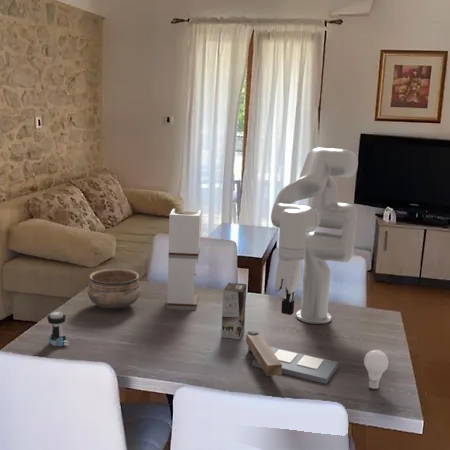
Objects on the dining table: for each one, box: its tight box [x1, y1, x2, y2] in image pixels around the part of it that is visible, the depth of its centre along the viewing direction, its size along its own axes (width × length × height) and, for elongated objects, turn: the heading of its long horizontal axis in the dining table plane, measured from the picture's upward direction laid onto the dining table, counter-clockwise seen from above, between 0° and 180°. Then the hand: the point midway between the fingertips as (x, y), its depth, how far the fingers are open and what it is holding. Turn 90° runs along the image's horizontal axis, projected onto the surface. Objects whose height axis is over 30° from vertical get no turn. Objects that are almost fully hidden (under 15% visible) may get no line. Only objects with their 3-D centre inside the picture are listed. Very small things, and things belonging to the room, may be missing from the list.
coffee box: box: [220, 282, 247, 340], centre depth 188 cm, size 9×6×16 cm
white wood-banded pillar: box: [166, 208, 202, 311], centre depth 212 cm, size 11×11×35 cm
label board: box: [252, 346, 339, 385], centre depth 168 cm, size 12×22×2 cm, turn 65°
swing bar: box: [245, 330, 282, 377], centre depth 166 cm, size 4×24×3 cm, turn 13°
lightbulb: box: [363, 349, 389, 390], centre depth 155 cm, size 6×6×11 cm
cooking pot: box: [87, 268, 142, 312], centre depth 207 cm, size 25×19×12 cm
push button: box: [46, 310, 70, 347], centre depth 175 cm, size 7×5×10 cm
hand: (287, 313), depth 168 cm, fingers closed
